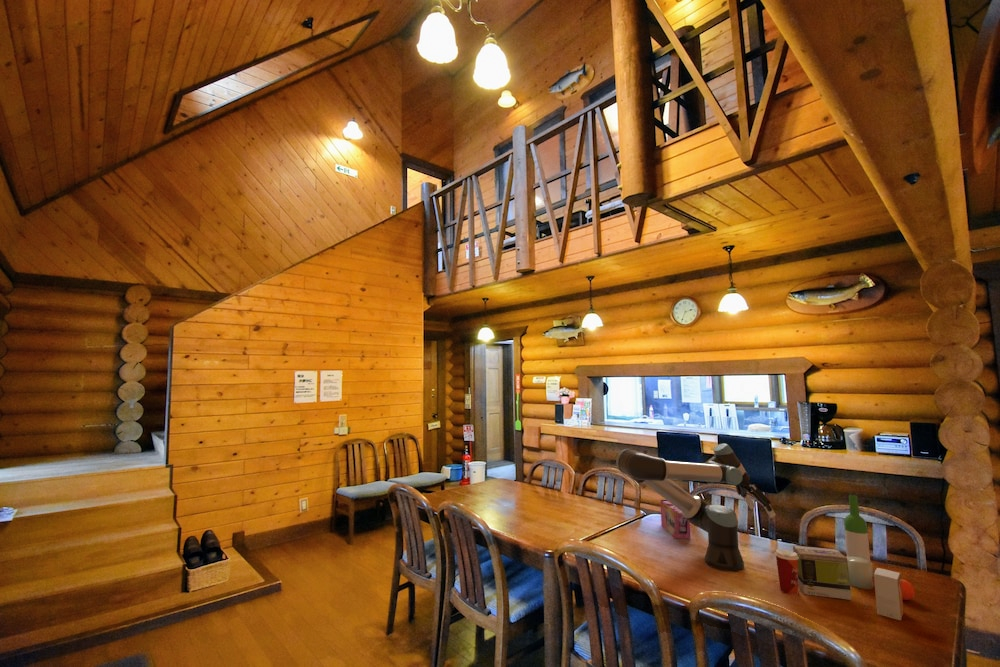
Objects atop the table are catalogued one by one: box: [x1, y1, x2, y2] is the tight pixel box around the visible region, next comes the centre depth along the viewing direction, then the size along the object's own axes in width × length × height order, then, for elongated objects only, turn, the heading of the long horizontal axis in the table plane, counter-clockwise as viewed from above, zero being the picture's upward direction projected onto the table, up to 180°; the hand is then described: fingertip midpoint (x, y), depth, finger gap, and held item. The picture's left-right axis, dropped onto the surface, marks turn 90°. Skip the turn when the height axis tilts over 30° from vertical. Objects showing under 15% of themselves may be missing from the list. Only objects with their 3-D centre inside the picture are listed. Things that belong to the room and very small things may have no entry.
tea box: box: [792, 545, 853, 601], centre depth 168 cm, size 15×10×15 cm, turn 71°
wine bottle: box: [843, 494, 871, 562], centre depth 190 cm, size 8×8×30 cm
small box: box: [873, 567, 904, 621], centre depth 152 cm, size 8×6×13 cm
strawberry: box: [901, 578, 916, 601], centre depth 162 cm, size 8×7×7 cm
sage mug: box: [845, 555, 874, 590], centre depth 174 cm, size 10×8×9 cm
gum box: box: [659, 499, 691, 539], centre depth 236 cm, size 24×8×14 cm, turn 178°
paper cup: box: [774, 548, 799, 596], centre depth 168 cm, size 8×8×14 cm
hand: (763, 511), depth 211 cm, fingers open, 13 cm apart
